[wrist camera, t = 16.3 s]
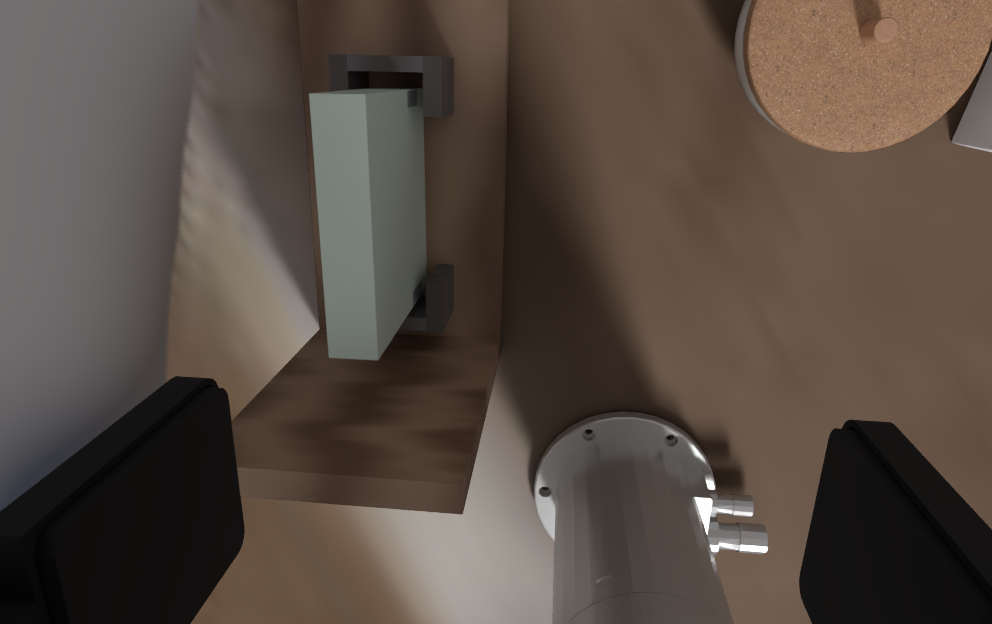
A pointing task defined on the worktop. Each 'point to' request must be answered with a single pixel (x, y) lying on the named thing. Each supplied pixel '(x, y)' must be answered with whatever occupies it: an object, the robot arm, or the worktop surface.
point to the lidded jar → (859, 65)
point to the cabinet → (449, 287)
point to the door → (369, 213)
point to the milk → (978, 114)
